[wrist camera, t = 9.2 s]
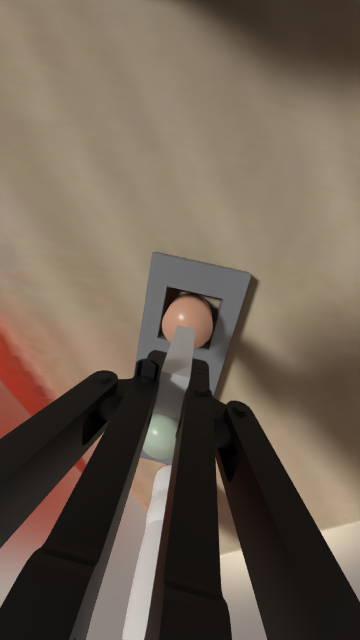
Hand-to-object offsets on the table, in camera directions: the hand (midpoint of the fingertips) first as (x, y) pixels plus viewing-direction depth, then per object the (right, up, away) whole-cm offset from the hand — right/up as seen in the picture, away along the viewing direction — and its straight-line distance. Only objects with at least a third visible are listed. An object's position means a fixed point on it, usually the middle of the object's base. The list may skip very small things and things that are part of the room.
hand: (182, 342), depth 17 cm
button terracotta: (+1, +2, +8) cm, 8 cm away
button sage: (-2, -12, +13) cm, 18 cm away
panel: (-1, -5, +11) cm, 12 cm away
